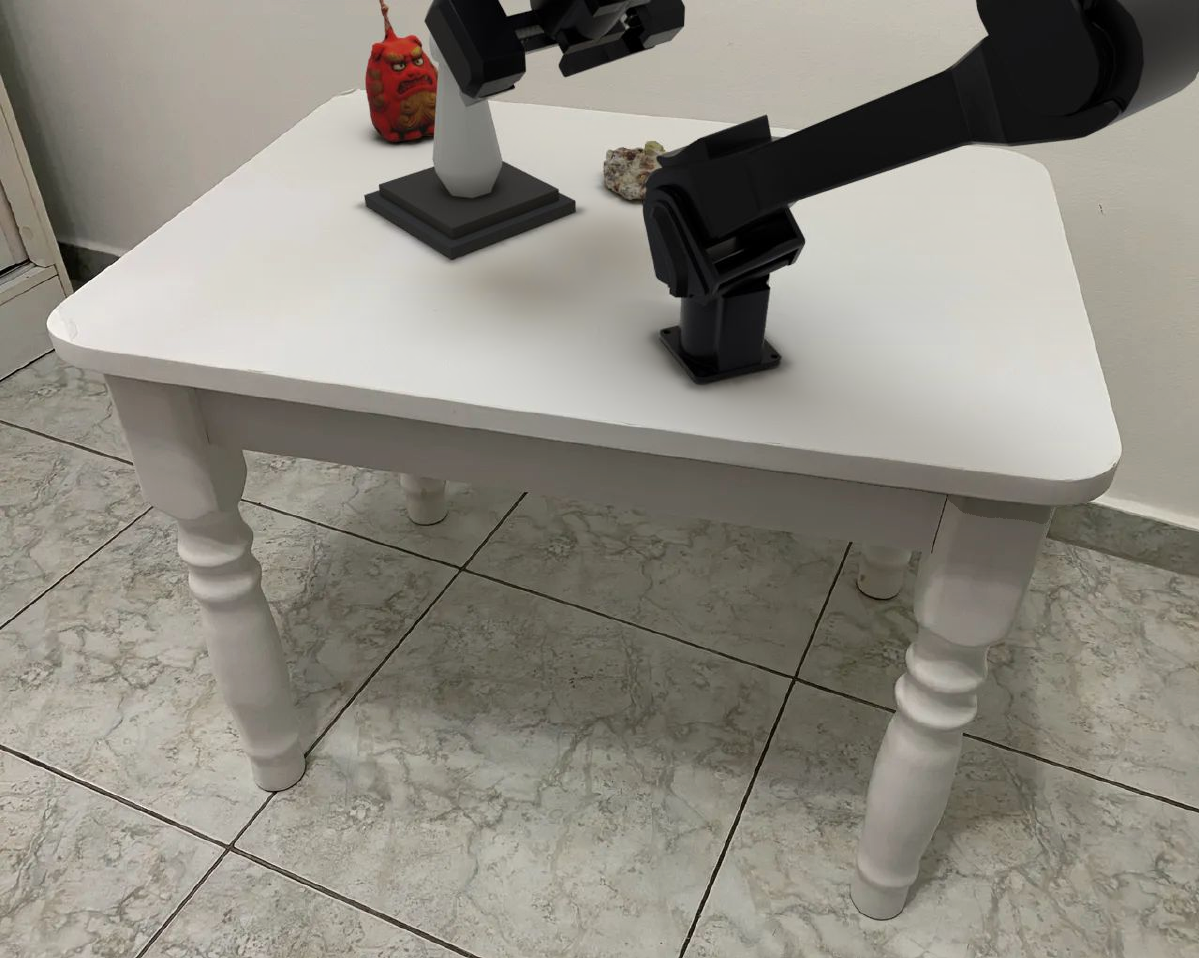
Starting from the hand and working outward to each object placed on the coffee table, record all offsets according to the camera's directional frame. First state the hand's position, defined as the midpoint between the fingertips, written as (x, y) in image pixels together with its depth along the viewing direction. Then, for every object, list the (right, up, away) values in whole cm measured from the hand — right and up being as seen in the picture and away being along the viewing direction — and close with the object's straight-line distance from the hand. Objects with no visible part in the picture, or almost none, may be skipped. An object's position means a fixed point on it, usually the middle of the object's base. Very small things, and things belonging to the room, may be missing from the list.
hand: (515, 85), depth 75 cm
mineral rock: (+12, -3, +16) cm, 20 cm away
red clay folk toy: (-13, +5, +26) cm, 29 cm away
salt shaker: (-5, -5, +11) cm, 13 cm away
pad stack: (-5, -6, +12) cm, 15 cm away
